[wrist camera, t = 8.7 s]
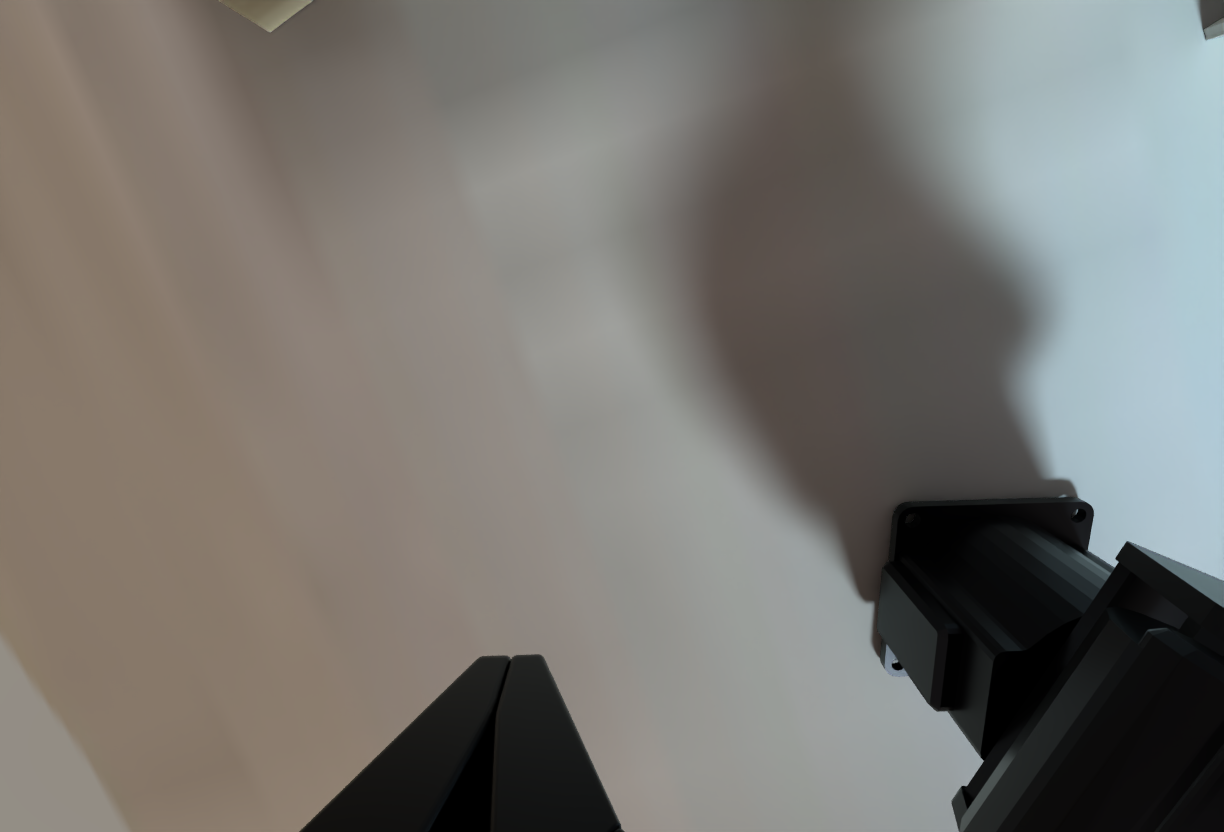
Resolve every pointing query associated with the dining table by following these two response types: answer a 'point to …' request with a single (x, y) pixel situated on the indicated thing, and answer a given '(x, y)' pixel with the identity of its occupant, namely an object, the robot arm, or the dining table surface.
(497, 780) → the robot arm
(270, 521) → the dining table surface
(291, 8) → the board
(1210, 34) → the tall white box
